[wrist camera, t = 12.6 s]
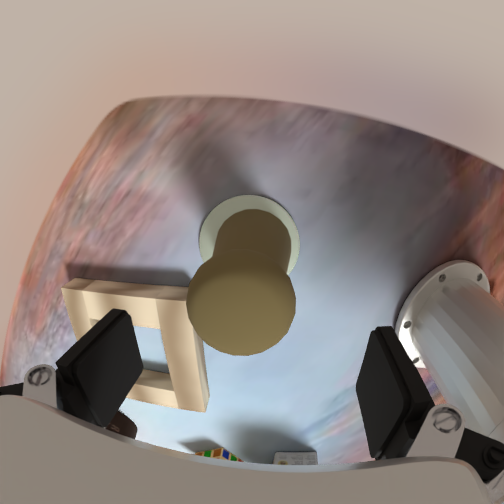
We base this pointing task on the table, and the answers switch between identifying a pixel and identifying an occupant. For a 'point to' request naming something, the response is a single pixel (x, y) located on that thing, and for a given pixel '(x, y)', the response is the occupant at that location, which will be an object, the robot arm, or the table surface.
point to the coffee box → (295, 458)
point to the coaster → (239, 204)
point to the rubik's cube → (219, 454)
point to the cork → (244, 286)
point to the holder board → (152, 316)
